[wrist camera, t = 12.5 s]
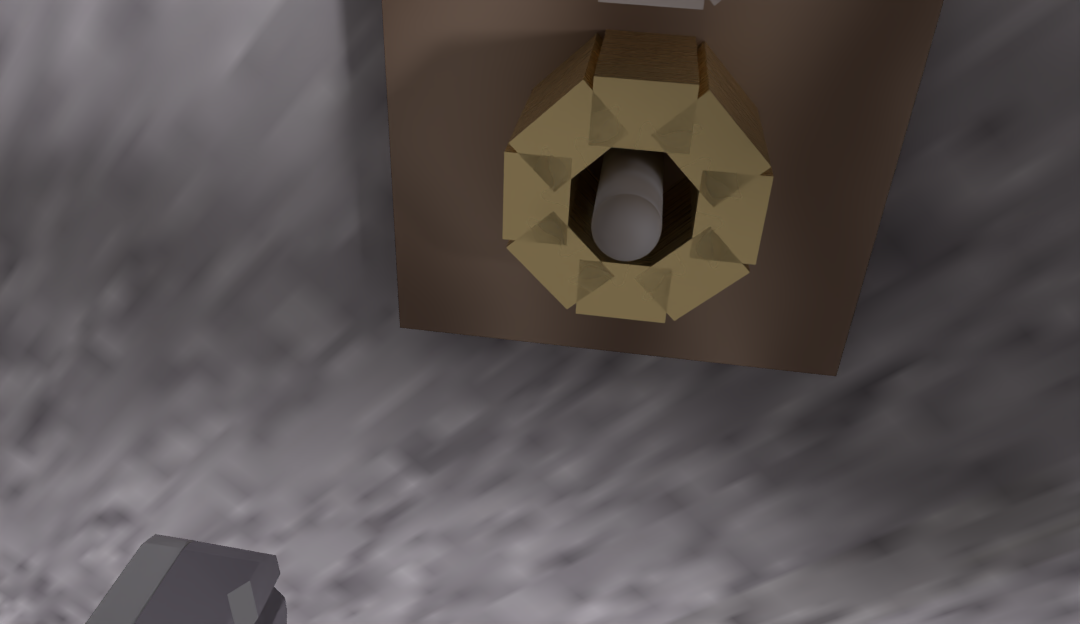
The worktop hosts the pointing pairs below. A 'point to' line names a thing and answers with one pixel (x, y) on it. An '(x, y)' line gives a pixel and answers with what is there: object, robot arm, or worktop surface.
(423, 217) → the gear board
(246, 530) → the worktop surface
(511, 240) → the octagonal hollow tube
